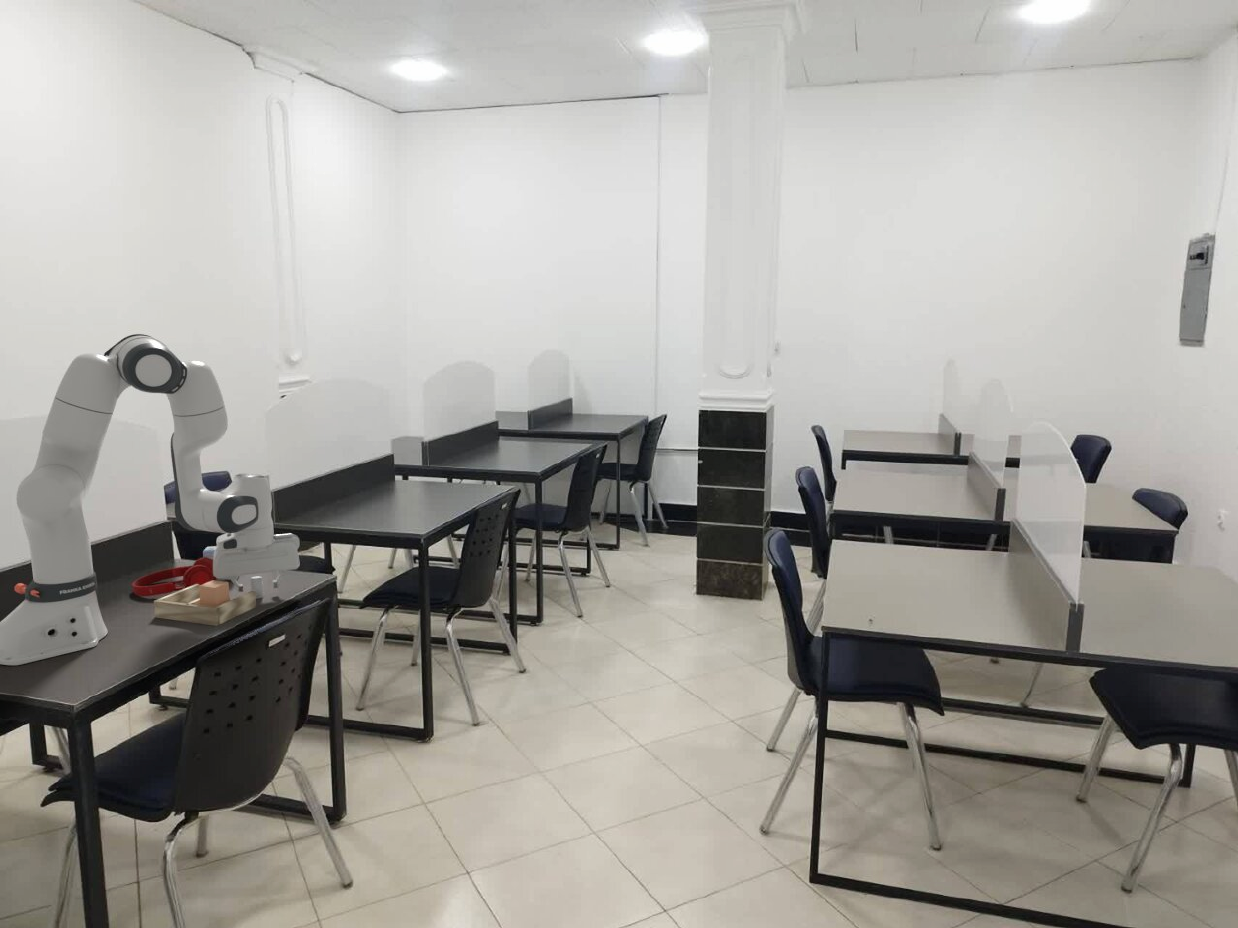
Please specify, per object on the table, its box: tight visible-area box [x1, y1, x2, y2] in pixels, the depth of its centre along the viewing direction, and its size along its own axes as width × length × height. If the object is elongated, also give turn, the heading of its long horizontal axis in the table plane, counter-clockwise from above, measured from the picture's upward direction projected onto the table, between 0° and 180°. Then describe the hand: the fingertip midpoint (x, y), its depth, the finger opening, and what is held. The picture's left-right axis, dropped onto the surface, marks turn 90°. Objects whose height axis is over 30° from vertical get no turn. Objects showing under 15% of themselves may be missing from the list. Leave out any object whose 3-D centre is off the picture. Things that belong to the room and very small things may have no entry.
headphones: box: [131, 556, 217, 597], centre depth 225 cm, size 15×7×20 cm
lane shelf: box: [153, 584, 257, 627], centre depth 209 cm, size 14×18×4 cm
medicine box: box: [202, 545, 240, 582], centre depth 233 cm, size 8×4×9 cm, turn 103°
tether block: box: [199, 575, 264, 607], centre depth 212 cm, size 18×4×8 cm, turn 164°
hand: (258, 589), depth 220 cm, fingers open, 7 cm apart
